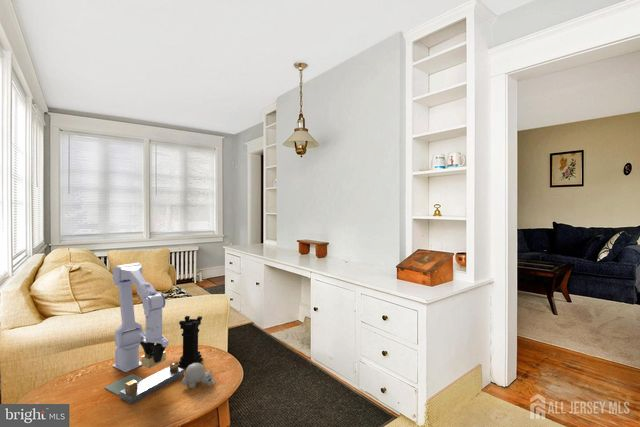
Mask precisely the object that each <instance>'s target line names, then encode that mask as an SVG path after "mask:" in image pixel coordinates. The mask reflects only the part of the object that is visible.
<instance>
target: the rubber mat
mask: <svg viewBox="0 0 640 427" xmlns="http://www.w3.org/2000/svg"><path fill="white" fill-rule="evenodd" d="M133 379H134V380H136V381H137V383H138V382H140V381H142V380H144V379H145V378H142V377H140V376H138V375H135V374H133V373H130V374H129V375H127V376H124V377H123V378H121V379H119V380H116V381H114V382H112V383H110V384H108V385H106V386H103V387H104V389H105V390H106V391H108V392H110V393H113V394H114V395H117V396H119V397H120V391H122V390H124V389H125V383H127V382H129V381H131V380H133Z"/></svg>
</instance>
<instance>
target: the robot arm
mask: <svg viewBox="0 0 640 427" xmlns="http://www.w3.org/2000/svg"><path fill="white" fill-rule="evenodd" d="M112 281H113V285H114V286H117V287H118V296H119V306H120V317H121V324H120V325H119V326H118V327H117V328H116V329H115V331H114V344H115V347H116V348H115V351H114V364H113V365H112V367H113V368H116V369H118V370H121V371H122V372H123V373H128V372H130V371H131V370H134V369H137V368H139V367H141V366H142V361H140V346H141V348H142V349H143V352H144V355H145V354H146V353H148V352H150V351H153V353H154V360H155V363H158V362H160V361H161V359H162V355H163V352H164V351H166V348H167V347H168V346H169V345H170V344H169V343H170V342H169V340H168V339H167V338H166V337H165V336H164V334H163V309H164V308H165V307H166V297H165V295H164V294H163V292H160V291H157V290H156V289H155V287H154V286H153V284H152V283H150V282H147V281H146V280H145V278H144V276H143V266H142V264H141V263H140V262H134V263H128V264H127V263H125V264H121V265H115V266H114V267H113V270H112ZM133 285H134V286H135V287H136V293H137V295H138V296H139V298H140V299H141V301H142V307H143V313H144V314H143V315H144V316H145V331H144V330H143V326H142V324H141V323H139V322H137V321H136V317H135V307H134V298H133V289H132V286H133Z"/></svg>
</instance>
